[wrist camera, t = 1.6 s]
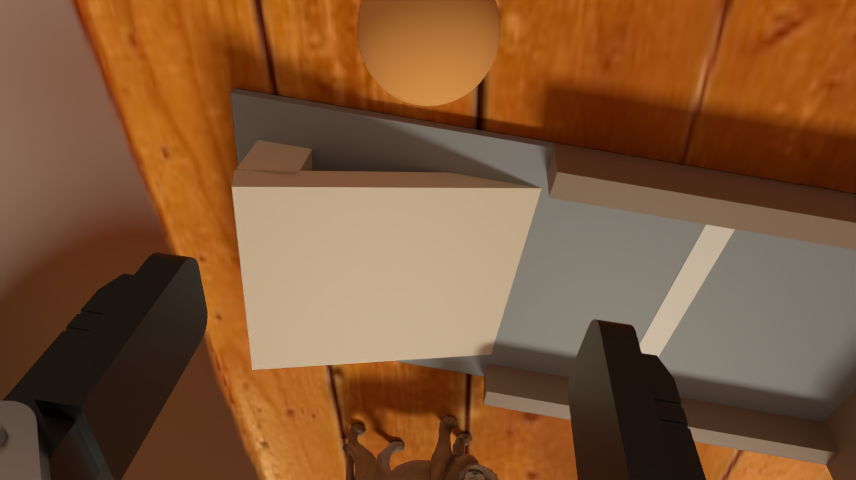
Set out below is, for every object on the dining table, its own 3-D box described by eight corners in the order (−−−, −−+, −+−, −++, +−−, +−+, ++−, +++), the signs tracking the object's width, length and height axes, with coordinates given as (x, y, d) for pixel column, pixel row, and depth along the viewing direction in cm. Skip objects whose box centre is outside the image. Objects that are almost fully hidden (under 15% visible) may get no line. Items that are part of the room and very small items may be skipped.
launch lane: (262, 322, 42) (225, 397, 36) (240, 82, 30) (182, 142, 24) (822, 420, 41) (870, 512, 36) (1027, 215, 29) (1143, 306, 24)
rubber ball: (376, -72, 24) (344, -42, 19) (514, -49, 24) (515, -13, 19) (368, 64, 28) (339, 116, 23) (487, 84, 27) (482, 141, 23)
